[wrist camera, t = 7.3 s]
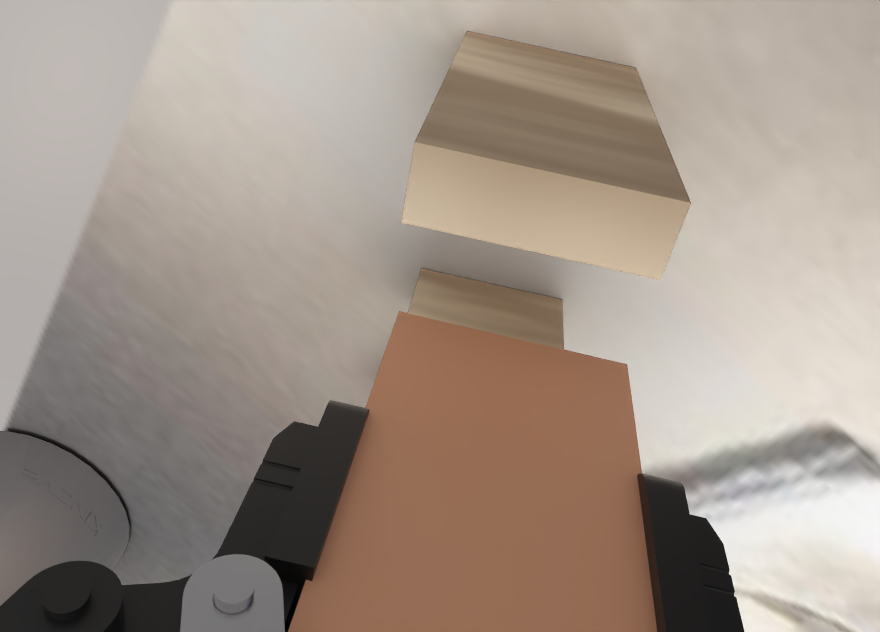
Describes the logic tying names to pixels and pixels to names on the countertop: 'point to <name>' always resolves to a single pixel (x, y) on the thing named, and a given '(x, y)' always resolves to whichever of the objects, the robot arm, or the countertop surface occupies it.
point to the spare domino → (487, 495)
